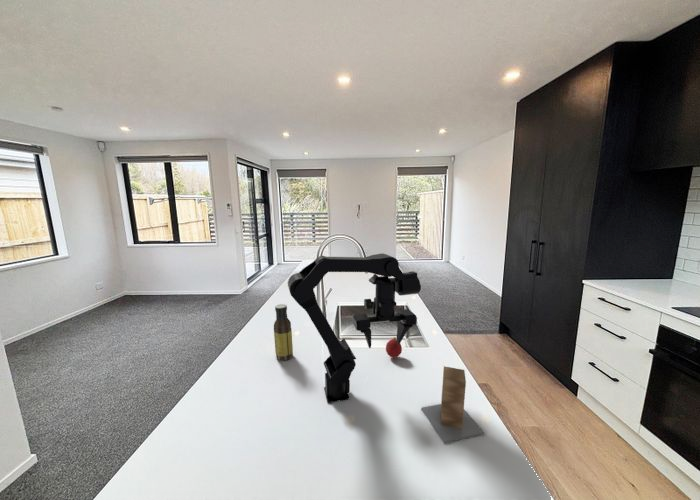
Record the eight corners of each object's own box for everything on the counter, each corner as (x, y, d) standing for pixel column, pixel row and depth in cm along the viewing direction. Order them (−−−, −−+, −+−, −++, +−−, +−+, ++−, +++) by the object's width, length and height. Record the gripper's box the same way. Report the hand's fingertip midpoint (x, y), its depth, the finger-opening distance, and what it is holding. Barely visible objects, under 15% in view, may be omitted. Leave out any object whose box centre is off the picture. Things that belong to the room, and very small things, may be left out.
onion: (401, 363, 96) (402, 342, 94) (385, 361, 97) (385, 340, 95) (401, 354, 101) (402, 334, 100) (386, 352, 102) (386, 333, 101)
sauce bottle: (288, 350, 104) (286, 301, 100) (296, 357, 99) (294, 306, 96) (272, 356, 100) (269, 305, 96) (279, 364, 95) (277, 310, 92)
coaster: (444, 443, 63) (444, 441, 63) (421, 409, 74) (421, 407, 74) (484, 434, 66) (484, 432, 66) (456, 402, 77) (456, 400, 76)
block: (440, 424, 68) (443, 377, 66) (440, 410, 73) (443, 366, 71) (462, 429, 67) (465, 381, 65) (460, 414, 71) (464, 369, 69)
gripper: (402, 286, 90) (401, 330, 92) (348, 290, 85) (348, 336, 88) (418, 297, 79) (416, 347, 81) (357, 303, 75) (357, 355, 77)
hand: (383, 345), depth 82 cm, fingers open, 9 cm apart
